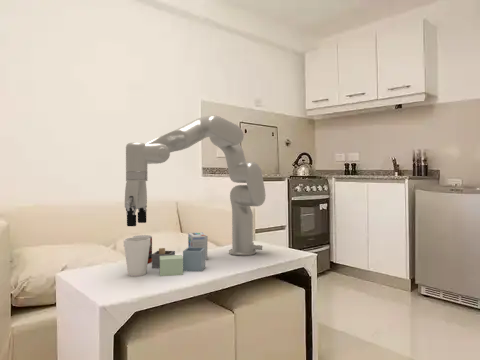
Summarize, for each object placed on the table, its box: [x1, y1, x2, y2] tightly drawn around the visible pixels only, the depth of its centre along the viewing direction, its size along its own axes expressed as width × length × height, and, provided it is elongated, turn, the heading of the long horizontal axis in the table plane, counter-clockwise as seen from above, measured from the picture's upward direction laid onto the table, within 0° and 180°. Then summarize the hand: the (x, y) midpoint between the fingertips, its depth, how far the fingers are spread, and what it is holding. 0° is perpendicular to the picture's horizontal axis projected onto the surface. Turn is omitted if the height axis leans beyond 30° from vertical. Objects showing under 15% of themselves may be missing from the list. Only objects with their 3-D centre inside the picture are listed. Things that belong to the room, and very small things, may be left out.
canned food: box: [132, 234, 153, 264], centre depth 153 cm, size 8×8×11 cm
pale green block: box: [159, 254, 184, 277], centre depth 135 cm, size 8×6×6 cm
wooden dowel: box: [158, 247, 166, 254], centre depth 145 cm, size 2×2×7 cm
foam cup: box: [123, 236, 150, 277], centre depth 134 cm, size 10×9×13 cm
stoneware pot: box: [182, 246, 206, 272], centre depth 141 cm, size 7×7×8 cm
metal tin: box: [151, 250, 176, 269], centre depth 146 cm, size 7×7×6 cm
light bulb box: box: [187, 231, 209, 261], centre depth 160 cm, size 11×7×11 cm, turn 18°
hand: (137, 224), depth 134 cm, fingers open, 9 cm apart
